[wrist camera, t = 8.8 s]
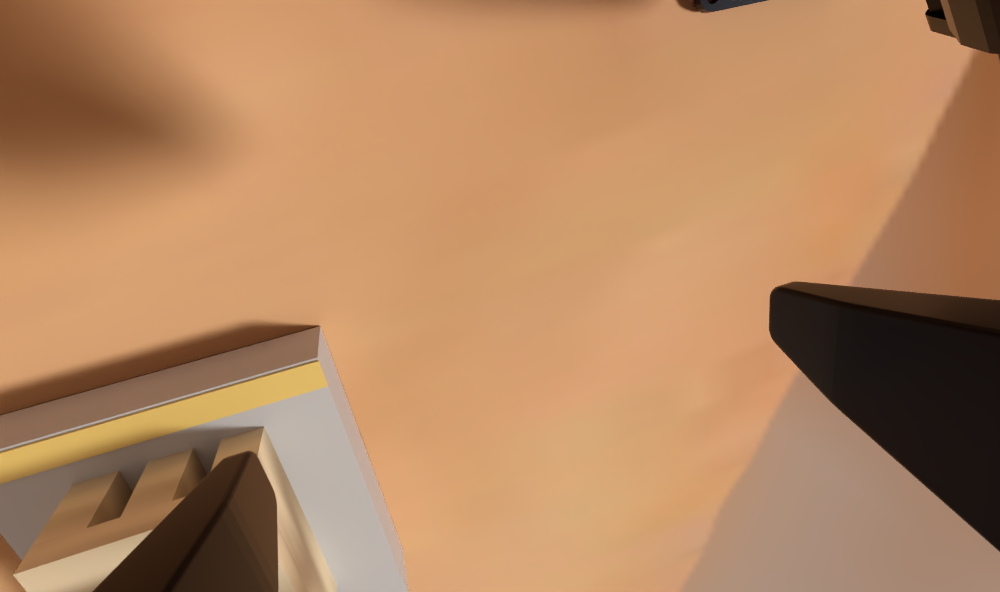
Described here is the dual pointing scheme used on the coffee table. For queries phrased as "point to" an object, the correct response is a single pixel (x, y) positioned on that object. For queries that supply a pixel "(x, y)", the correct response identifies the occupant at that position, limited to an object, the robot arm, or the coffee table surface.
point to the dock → (214, 447)
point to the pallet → (133, 515)
